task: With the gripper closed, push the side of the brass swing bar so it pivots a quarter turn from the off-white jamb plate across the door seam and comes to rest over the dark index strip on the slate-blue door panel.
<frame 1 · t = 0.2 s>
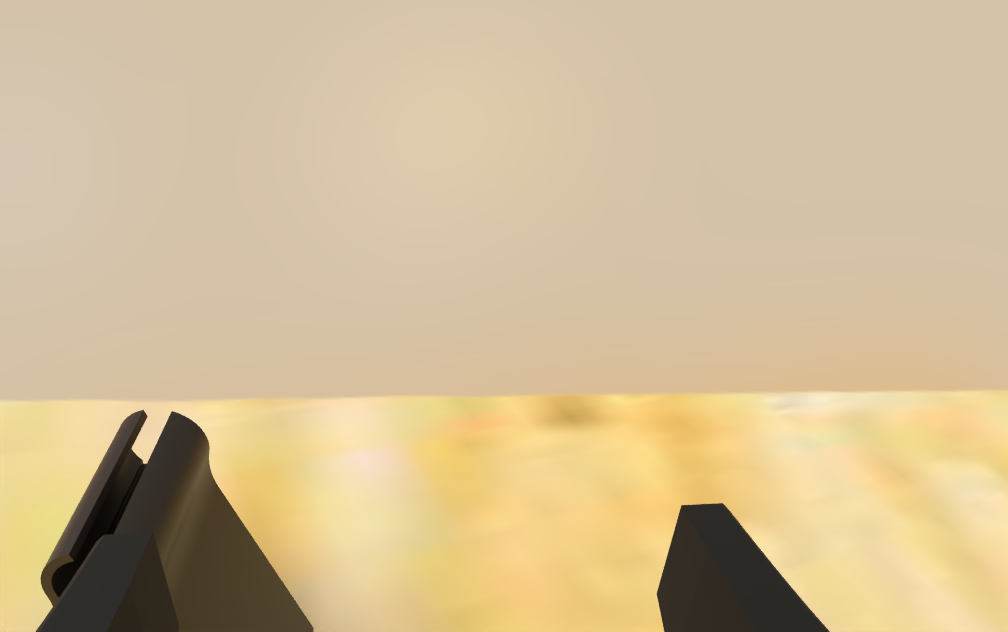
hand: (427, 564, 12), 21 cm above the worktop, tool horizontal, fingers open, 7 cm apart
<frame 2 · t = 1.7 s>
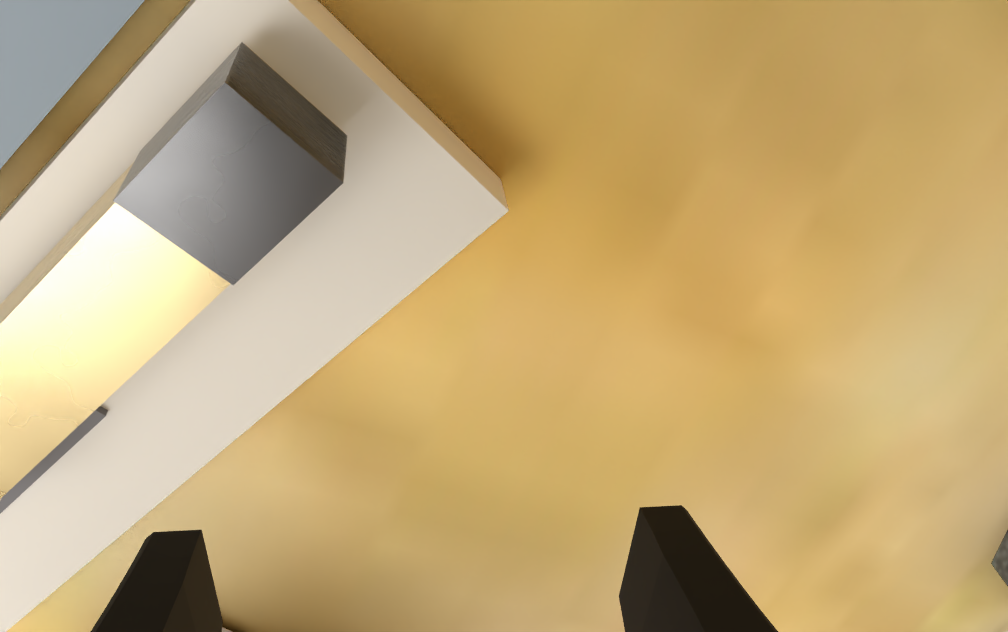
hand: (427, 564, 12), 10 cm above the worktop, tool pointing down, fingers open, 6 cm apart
swing bar: (59, 346, 17), point 3 cm above the worktop, hinge at -90.0°
jamb plate: (83, 365, 21), on the worktop
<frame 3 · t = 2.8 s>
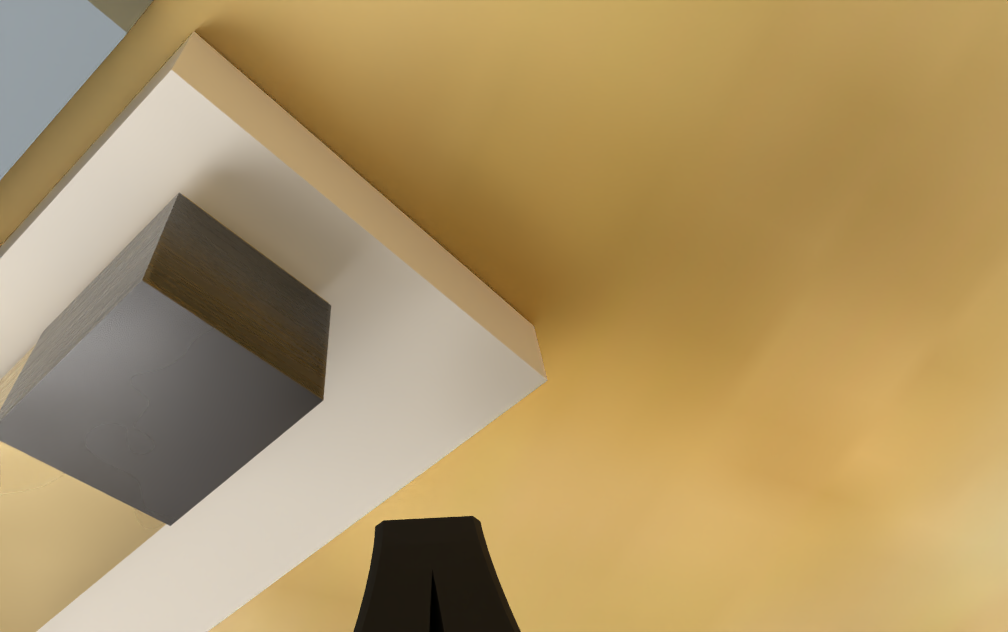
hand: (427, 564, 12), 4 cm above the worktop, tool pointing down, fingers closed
jamb plate: (1, 548, 16), on the worktop
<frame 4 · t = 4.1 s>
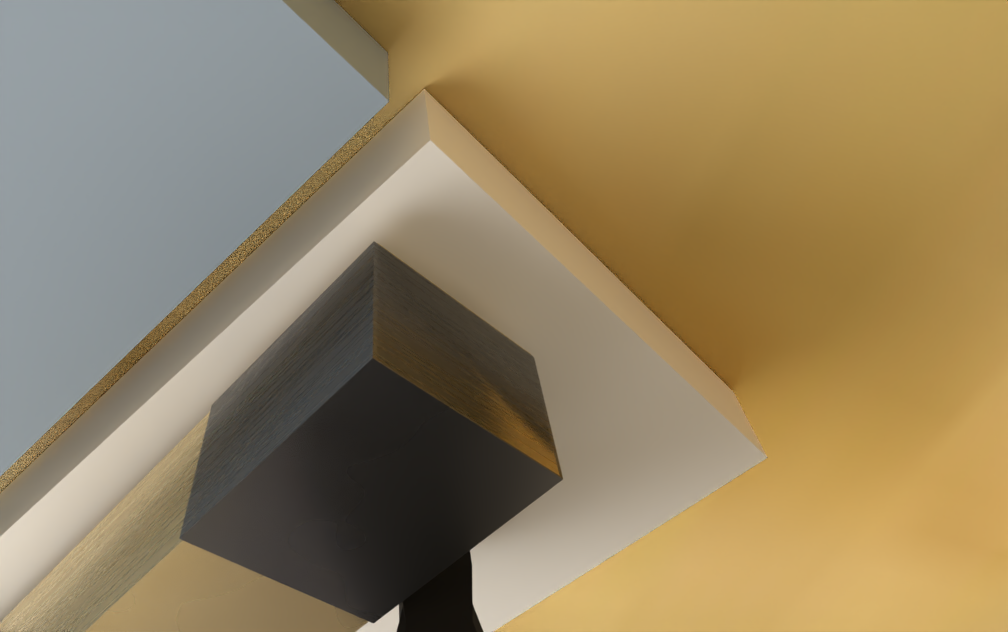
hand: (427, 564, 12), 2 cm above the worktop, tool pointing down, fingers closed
jamb plate: (140, 625, 15), on the worktop
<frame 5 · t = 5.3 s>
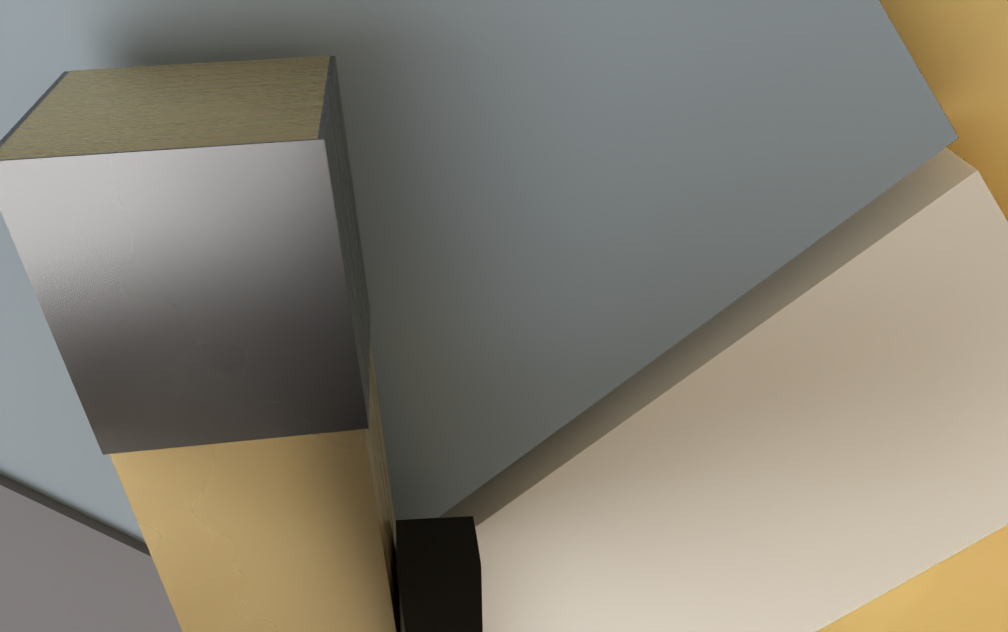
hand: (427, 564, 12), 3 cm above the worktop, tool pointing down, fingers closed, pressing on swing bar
swing bar: (309, 620, 11), point 3 cm above the worktop, hinge at -40.6°, touching gripper
jamb plate: (499, 611, 17), on the worktop
door panel: (13, 331, 12), on the worktop
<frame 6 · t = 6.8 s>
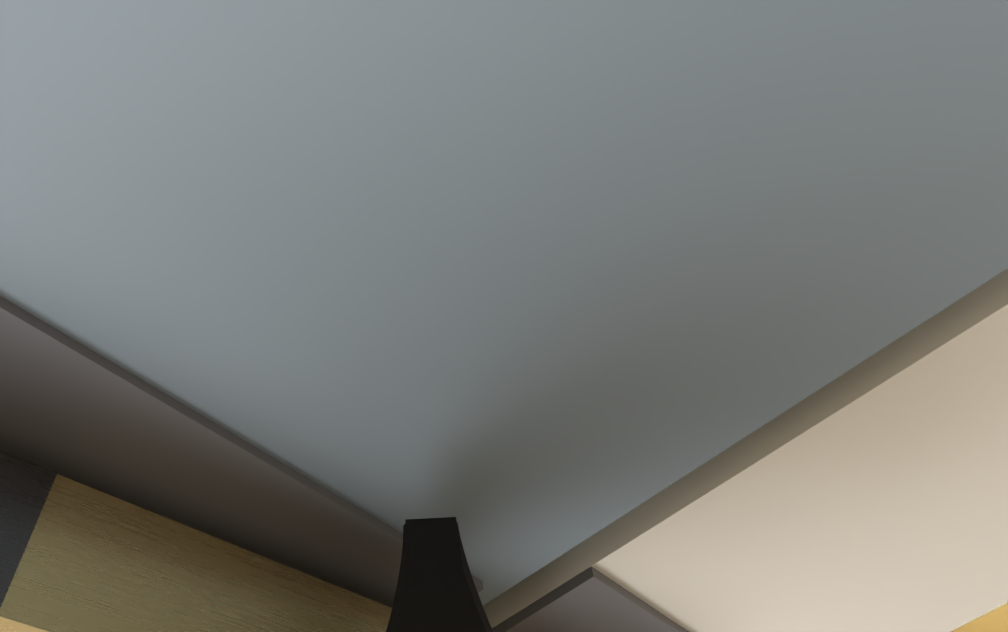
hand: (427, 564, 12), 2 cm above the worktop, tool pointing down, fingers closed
jamb plate: (664, 588, 17), on the worktop
door panel: (253, 301, 11), on the worktop
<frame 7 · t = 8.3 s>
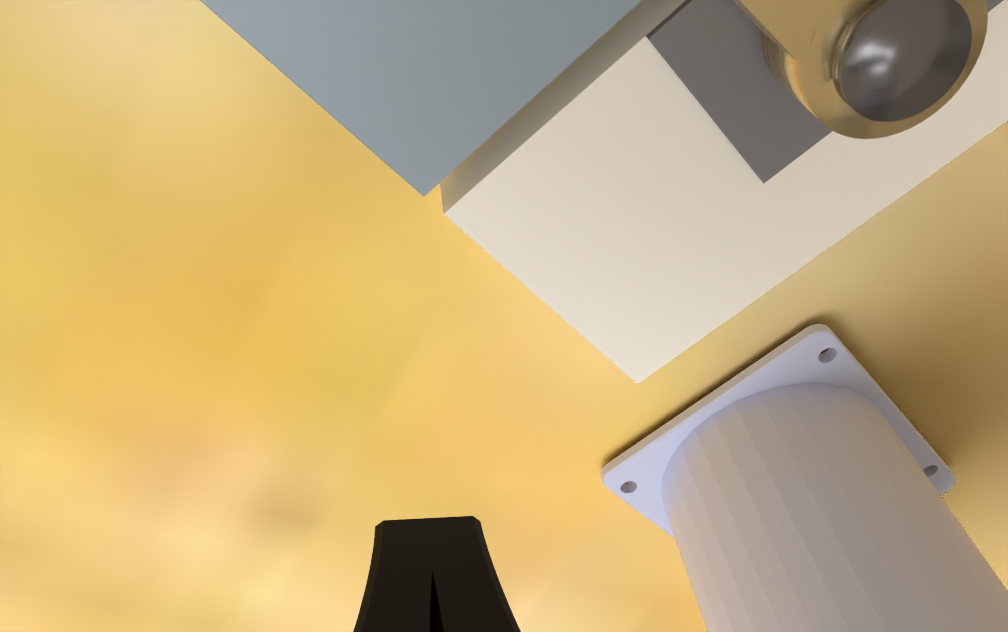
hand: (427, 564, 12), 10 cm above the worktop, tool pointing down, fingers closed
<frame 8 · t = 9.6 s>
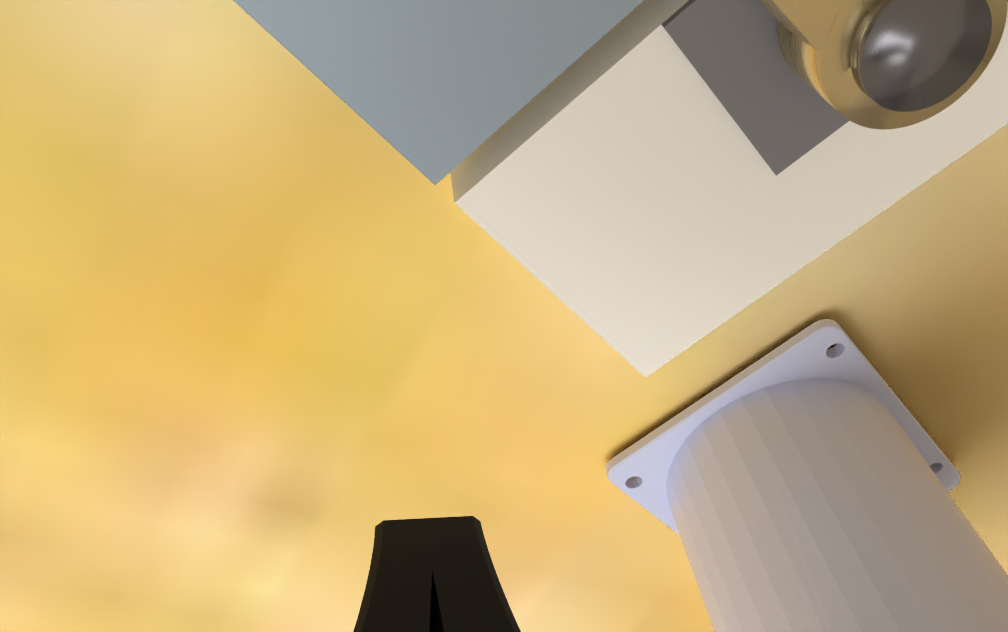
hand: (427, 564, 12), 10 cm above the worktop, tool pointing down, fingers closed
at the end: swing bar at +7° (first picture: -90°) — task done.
